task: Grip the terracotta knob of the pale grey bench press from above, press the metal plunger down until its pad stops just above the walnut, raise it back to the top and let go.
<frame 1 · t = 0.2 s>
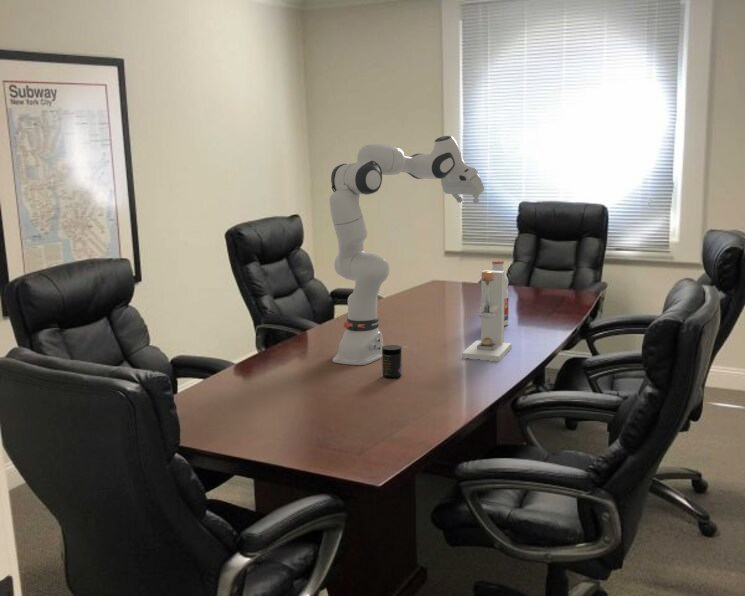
hand: (468, 202, 328), 54 cm above the table, tool tilted 30°, fingers open, 8 cm apart
walnut: (487, 342, 302), point 4 cm above the table, touching press frame
plunger: (487, 332, 301), point 8 cm above the table, slide at 8.0 cm
fruit juice: (497, 324, 349), on the table
press frame: (487, 353, 303), on the table
supplement container: (392, 377, 275), on the table
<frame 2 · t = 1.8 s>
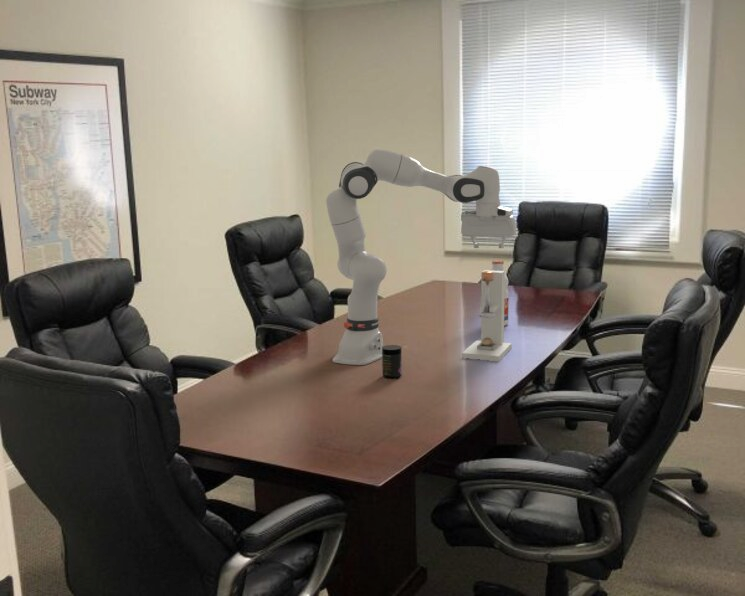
hand: (488, 248, 297), 40 cm above the table, tool pointing down, fingers open, 8 cm apart
nothing on the table moved.
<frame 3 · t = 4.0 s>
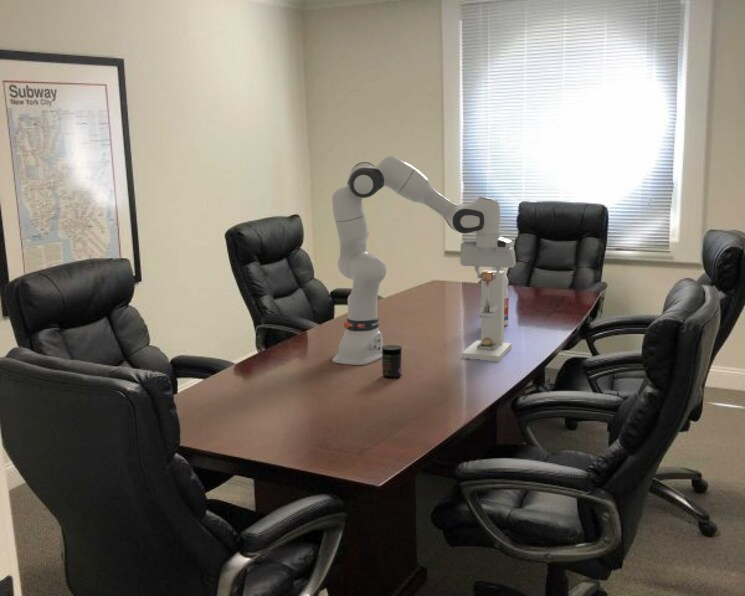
hand: (487, 278, 297), 29 cm above the table, tool pointing down, fingers closed on plunger, 4 cm apart
plunger: (487, 332, 301), point 8 cm above the table, slide at 8.0 cm, touching gripper
everything else where it was.
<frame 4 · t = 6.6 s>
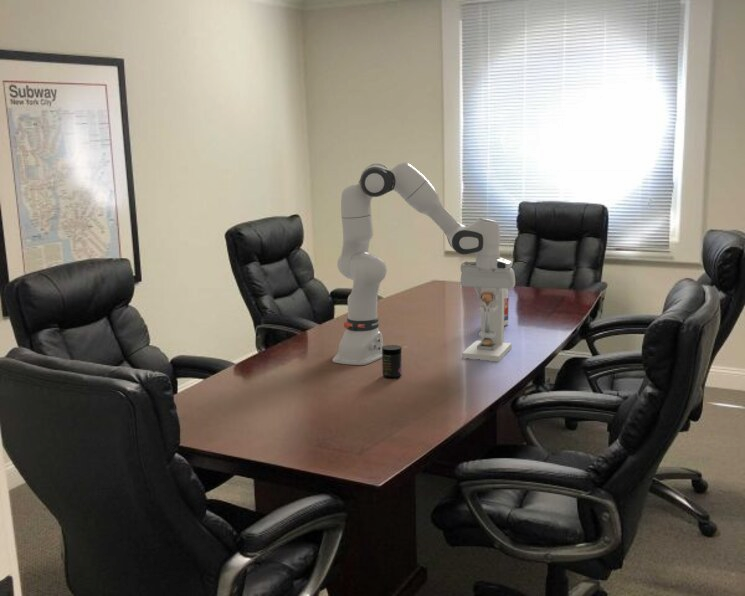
hand: (487, 299, 298), 21 cm above the table, tool pointing down, fingers closed on plunger, 4 cm apart
plunger: (487, 352, 302), resting on press frame, slide at 0.2 cm, touching gripper
everything else where it was.
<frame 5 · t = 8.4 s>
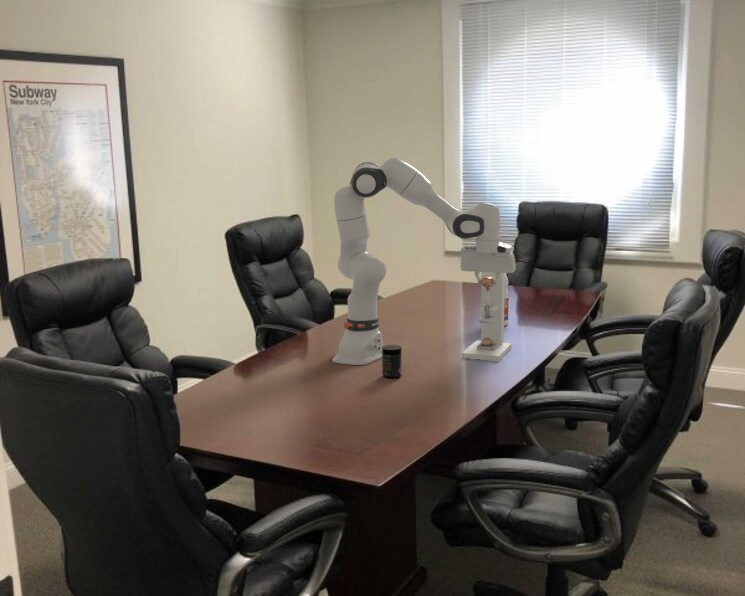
hand: (487, 283, 297), 27 cm above the table, tool pointing down, fingers closed on plunger, 4 cm apart
plunger: (487, 337, 301), point 6 cm above the table, slide at 6.0 cm, touching gripper
everything else where it was.
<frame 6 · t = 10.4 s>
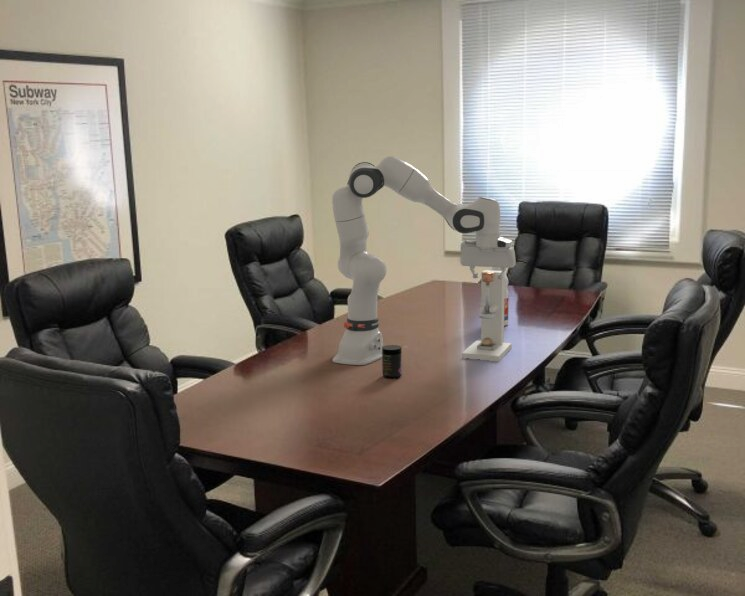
hand: (487, 278, 297), 29 cm above the table, tool pointing down, fingers open, 8 cm apart
plunger: (487, 333, 301), point 8 cm above the table, slide at 7.7 cm
everything else where it was.
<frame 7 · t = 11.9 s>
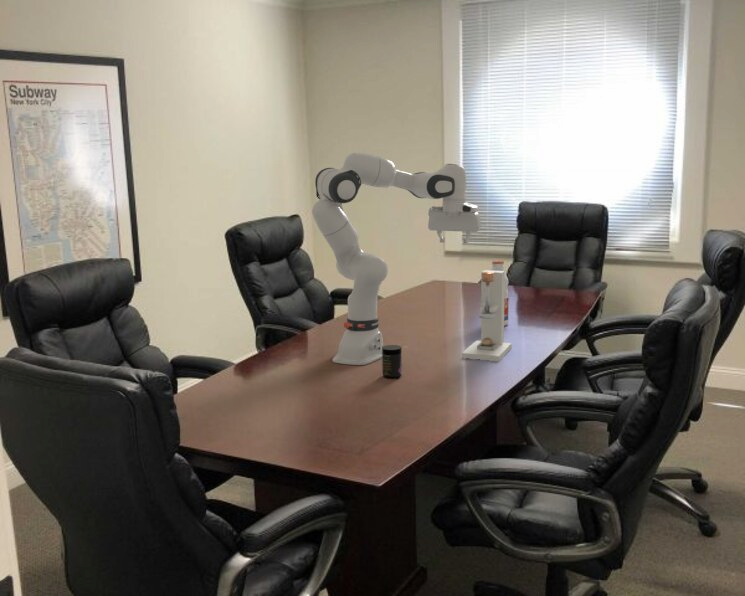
hand: (453, 242, 309), 40 cm above the table, tool pointing down, fingers open, 8 cm apart
nothing on the table moved.
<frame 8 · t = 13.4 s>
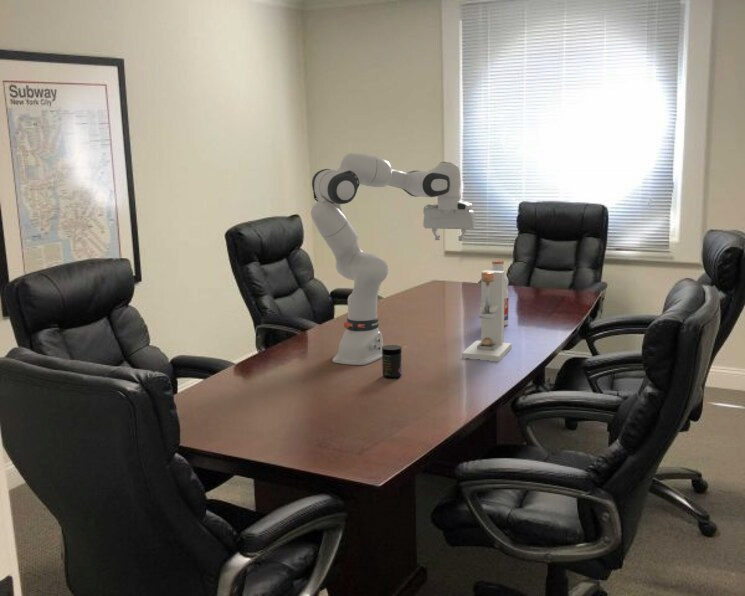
hand: (449, 240, 311), 41 cm above the table, tool pointing down, fingers open, 8 cm apart
nothing on the table moved.
at the end: plunger slide at 7.7 cm; walnut moved 0.1 cm from its start; the gripper is holding nothing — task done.
